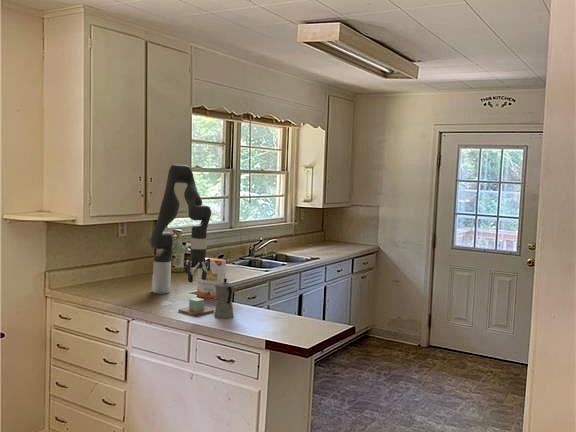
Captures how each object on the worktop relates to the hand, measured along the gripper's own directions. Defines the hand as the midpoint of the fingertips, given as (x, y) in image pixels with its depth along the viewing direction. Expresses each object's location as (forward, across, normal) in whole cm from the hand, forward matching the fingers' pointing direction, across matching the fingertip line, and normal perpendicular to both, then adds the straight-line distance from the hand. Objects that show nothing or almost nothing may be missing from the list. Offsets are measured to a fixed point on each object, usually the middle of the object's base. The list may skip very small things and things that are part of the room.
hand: (197, 280), depth 273 cm
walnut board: (+15, 0, 0) cm, 15 cm away
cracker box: (+16, -27, -18) cm, 36 cm away
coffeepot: (+15, -4, +15) cm, 22 cm away
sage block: (+14, 0, 0) cm, 14 cm away
